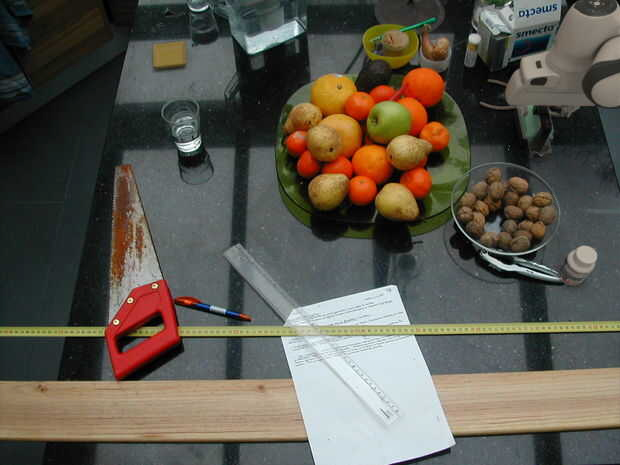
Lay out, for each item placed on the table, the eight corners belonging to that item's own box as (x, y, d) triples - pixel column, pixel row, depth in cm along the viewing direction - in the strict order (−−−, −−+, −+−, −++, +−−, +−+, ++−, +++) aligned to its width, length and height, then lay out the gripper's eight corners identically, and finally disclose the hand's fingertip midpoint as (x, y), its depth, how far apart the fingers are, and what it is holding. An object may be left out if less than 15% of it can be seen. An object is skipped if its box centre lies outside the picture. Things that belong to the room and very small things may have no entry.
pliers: (481, 77, 145) (562, 87, 142) (480, 80, 146) (560, 89, 143) (479, 105, 140) (563, 116, 138) (479, 108, 141) (561, 118, 138)
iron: (513, 114, 139) (525, 86, 131) (542, 114, 139) (555, 86, 131) (522, 163, 132) (535, 137, 124) (553, 164, 132) (568, 138, 123)
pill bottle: (570, 258, 119) (586, 237, 111) (588, 277, 117) (607, 257, 109) (551, 271, 118) (567, 250, 110) (570, 290, 115) (587, 270, 108)
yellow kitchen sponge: (186, 46, 155) (185, 40, 153) (187, 68, 150) (186, 62, 149) (155, 50, 154) (153, 44, 152) (155, 72, 150) (153, 66, 148)
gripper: (613, 58, 118) (587, 105, 130) (514, 57, 119) (497, 104, 131) (620, 80, 115) (592, 126, 127) (518, 79, 116) (500, 124, 128)
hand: (543, 114), depth 129 cm, fingers open, 8 cm apart
